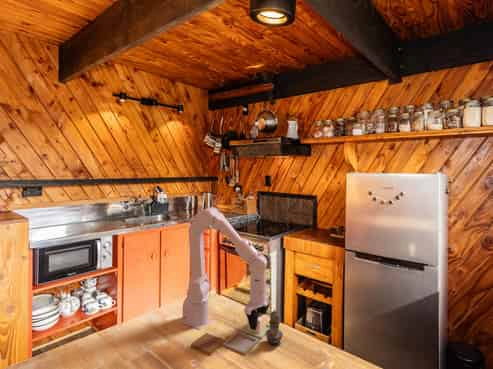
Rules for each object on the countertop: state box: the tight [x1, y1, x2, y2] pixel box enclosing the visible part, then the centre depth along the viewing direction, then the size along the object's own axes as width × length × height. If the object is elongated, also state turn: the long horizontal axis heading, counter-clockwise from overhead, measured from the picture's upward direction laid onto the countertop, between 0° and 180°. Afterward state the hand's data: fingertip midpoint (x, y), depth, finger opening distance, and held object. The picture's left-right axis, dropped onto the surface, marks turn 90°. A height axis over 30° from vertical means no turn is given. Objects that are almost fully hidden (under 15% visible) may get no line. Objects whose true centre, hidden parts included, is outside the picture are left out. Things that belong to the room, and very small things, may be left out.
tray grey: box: [222, 330, 261, 356], centre depth 99 cm, size 9×9×1 cm
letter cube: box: [247, 313, 267, 335], centre depth 108 cm, size 5×5×5 cm
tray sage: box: [239, 322, 270, 340], centre depth 108 cm, size 9×9×1 cm
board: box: [190, 332, 226, 356], centre depth 98 cm, size 8×8×1 cm
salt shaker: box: [265, 309, 284, 348], centre depth 99 cm, size 6×6×12 cm
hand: (256, 325), depth 108 cm, fingers closed on letter cube, 5 cm apart
